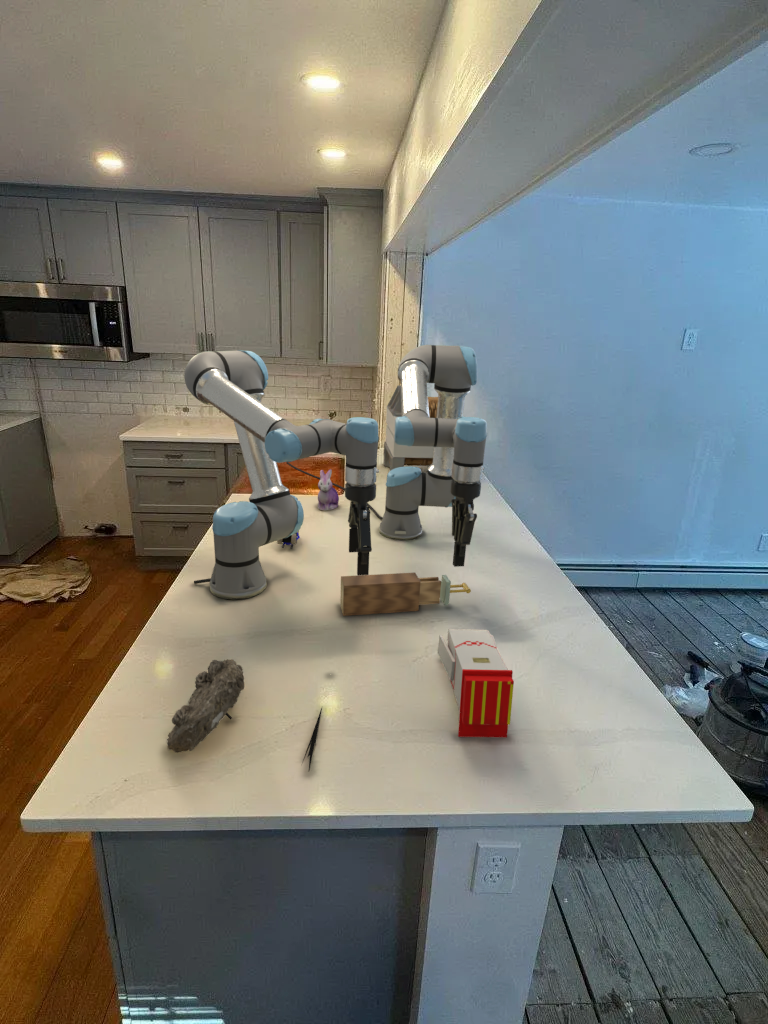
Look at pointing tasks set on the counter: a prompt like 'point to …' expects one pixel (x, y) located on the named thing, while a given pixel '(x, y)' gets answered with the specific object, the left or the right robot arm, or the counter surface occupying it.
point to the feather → (313, 740)
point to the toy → (478, 682)
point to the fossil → (206, 705)
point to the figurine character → (289, 540)
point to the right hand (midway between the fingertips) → (458, 565)
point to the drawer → (438, 590)
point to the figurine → (327, 492)
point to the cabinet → (379, 593)
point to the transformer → (402, 453)
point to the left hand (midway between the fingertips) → (358, 562)
